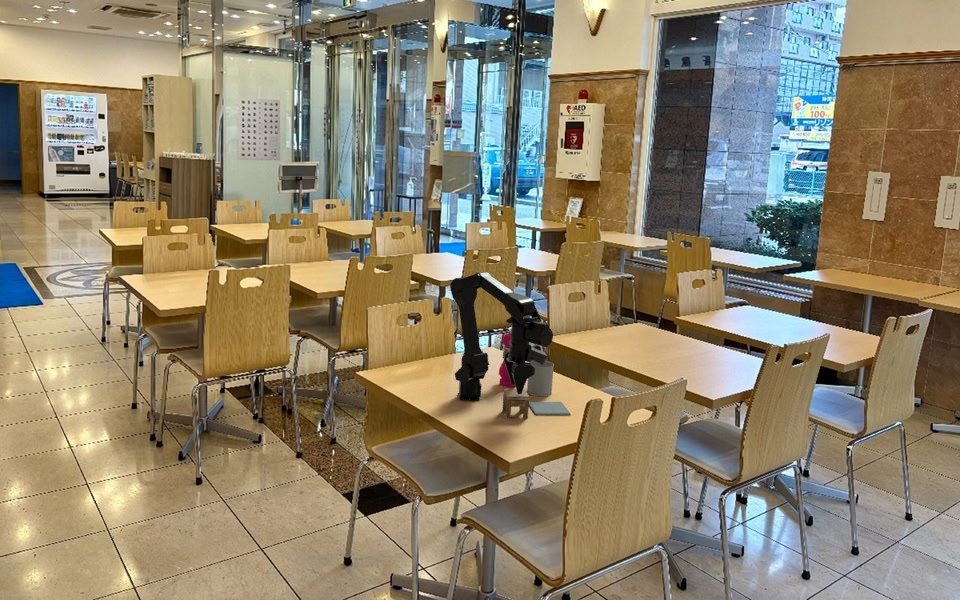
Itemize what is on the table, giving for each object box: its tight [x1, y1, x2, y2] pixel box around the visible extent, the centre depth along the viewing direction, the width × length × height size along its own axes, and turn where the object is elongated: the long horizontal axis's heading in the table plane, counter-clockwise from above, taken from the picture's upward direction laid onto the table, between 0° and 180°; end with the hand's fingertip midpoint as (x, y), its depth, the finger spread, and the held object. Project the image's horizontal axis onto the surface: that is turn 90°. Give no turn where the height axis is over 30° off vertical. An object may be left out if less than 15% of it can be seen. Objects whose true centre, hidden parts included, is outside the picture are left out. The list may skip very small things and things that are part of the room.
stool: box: [501, 388, 530, 419], centre depth 237 cm, size 7×7×7 cm
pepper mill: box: [498, 328, 516, 388], centre depth 266 cm, size 7×7×20 cm
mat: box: [529, 401, 571, 416], centre depth 245 cm, size 11×11×1 cm
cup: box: [526, 360, 555, 397], centre depth 261 cm, size 8×8×10 cm
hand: (516, 389), depth 237 cm, fingers open, 9 cm apart
